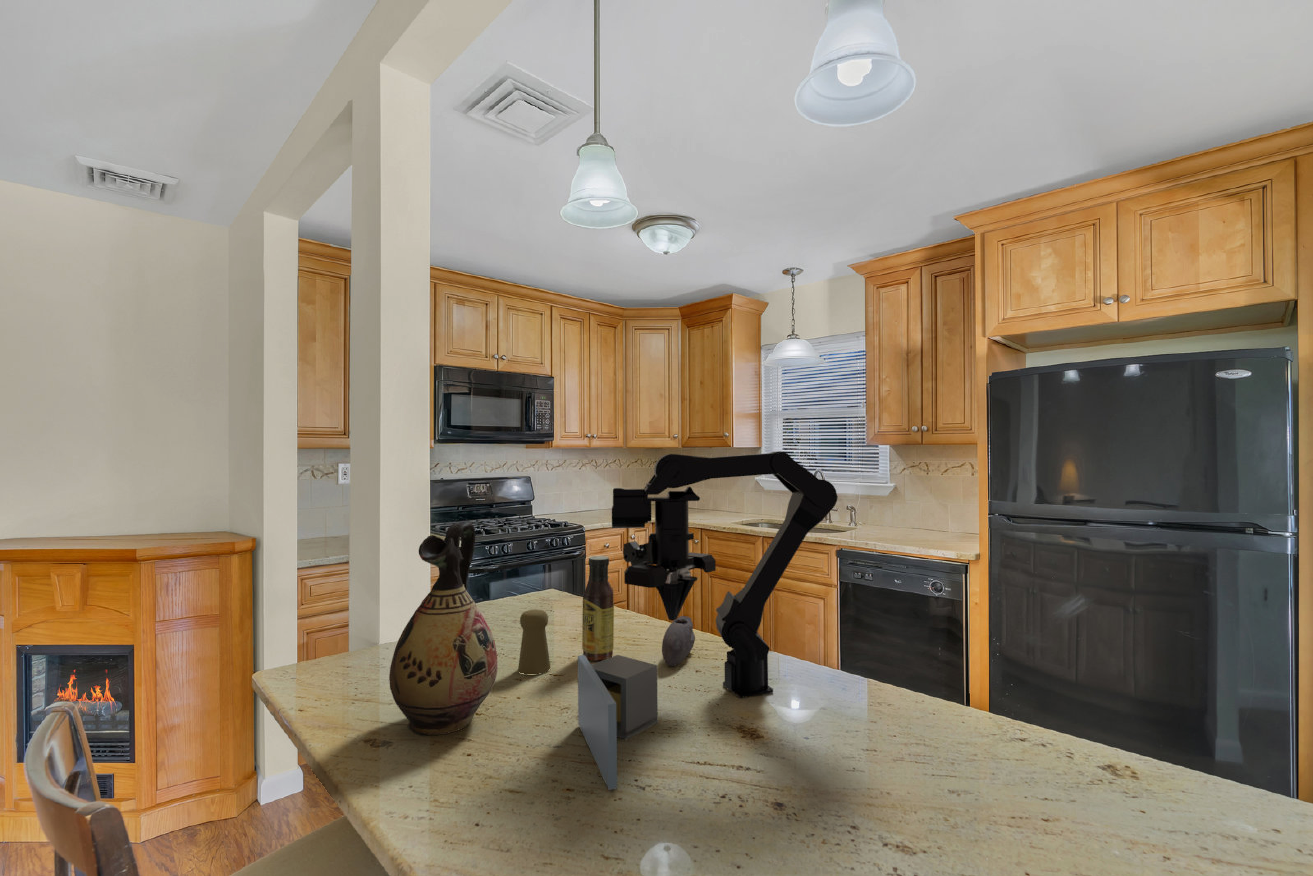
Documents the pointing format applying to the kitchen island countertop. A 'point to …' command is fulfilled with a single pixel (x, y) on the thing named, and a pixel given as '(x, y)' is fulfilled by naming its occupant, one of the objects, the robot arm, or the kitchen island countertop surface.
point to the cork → (534, 643)
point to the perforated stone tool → (678, 641)
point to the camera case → (630, 693)
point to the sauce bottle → (598, 612)
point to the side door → (598, 720)
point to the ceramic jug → (444, 644)
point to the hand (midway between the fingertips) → (672, 620)
